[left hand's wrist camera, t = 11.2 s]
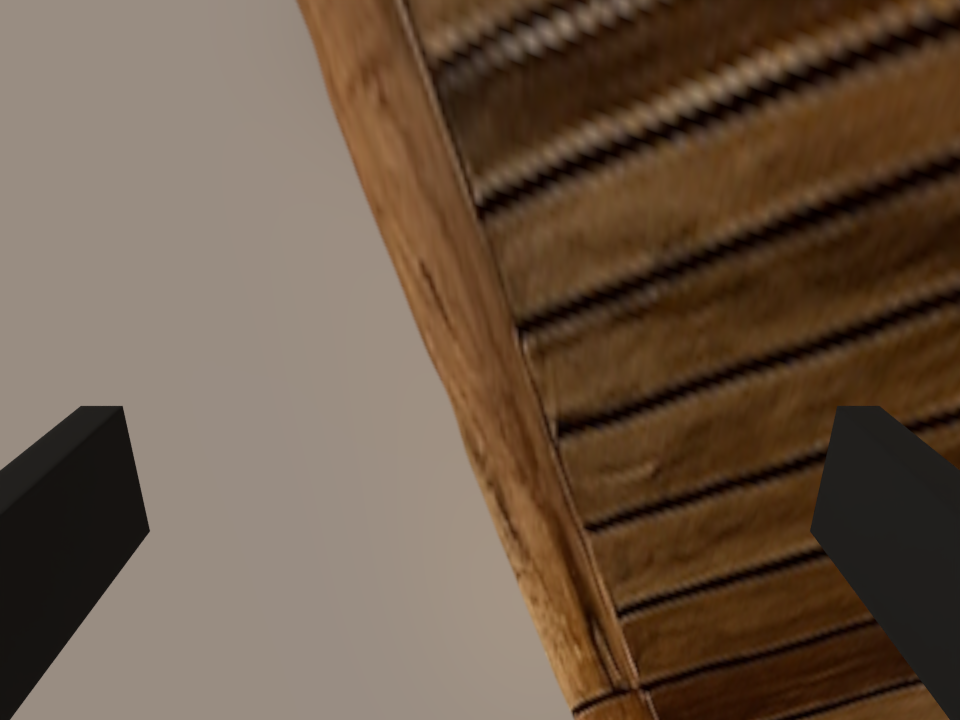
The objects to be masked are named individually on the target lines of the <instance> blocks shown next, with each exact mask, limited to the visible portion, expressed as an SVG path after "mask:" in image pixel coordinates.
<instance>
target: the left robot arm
mask: <svg viewBox="0 0 960 720" xmlns="http://www.w3.org/2000/svg"><path fill="white" fill-rule="evenodd" d="M149 532H150V529H149V525H148V521H147V516H146V511H145V507H144V502H143V497H142V493H141V488H140V484H139V479H138V475H137V470H136V465H135V461H134V456H133V452H132V447H131V442H130V438H129V433H128V429H127V424H126V420H125V415H124V410H123V406H80V407H79V408H78V409H77V410H75V411H74V412H73V413H72V414H70V415H69V416H68V417H67V418H65V419H64V420H63V421H62V422H60V423H59V424H58V425H57V426H55V427H54V428H53V429H52V430H50V431H49V432H48V433H47V434H45V435H44V436H43V437H42V438H40V439H39V440H38V441H37V442H35V443H34V444H33V445H32V446H30V447H29V448H28V449H27V450H25V451H24V452H23V453H22V454H20V455H19V456H18V457H17V458H15V459H14V460H13V461H12V462H10V463H9V464H8V465H7V466H5V467H4V468H3V469H2V470H0V720H10V719H11V718H12V716H13V715H14V713H15V712H16V711H17V709H18V708H19V707H20V705H21V704H22V703H23V701H24V700H25V699H26V697H27V696H28V695H29V693H30V692H31V691H32V689H33V688H34V687H35V685H36V684H37V683H38V681H39V680H40V679H41V677H42V676H43V674H44V673H45V672H46V670H47V669H48V668H49V666H50V665H51V664H52V662H53V661H54V660H55V658H56V657H57V656H58V654H59V653H60V652H61V650H62V649H63V648H64V646H65V645H66V644H67V642H68V641H69V639H70V638H71V637H72V635H73V634H74V633H75V631H76V630H77V629H78V627H79V626H80V625H81V623H82V622H83V621H84V619H85V618H86V617H87V615H88V614H89V612H90V611H91V610H92V608H93V607H94V606H95V604H96V603H97V602H98V600H99V599H100V598H101V596H102V595H103V594H104V592H105V591H106V590H107V588H108V587H109V586H110V584H111V583H112V581H113V580H114V579H115V577H116V576H117V575H118V573H119V572H120V571H121V569H122V568H123V567H124V565H125V564H126V563H127V561H128V560H129V559H130V557H131V556H132V554H133V553H134V552H135V550H136V549H137V548H138V547H139V545H140V544H141V542H142V541H143V540H144V538H145V537H146V536H147V534H148V533H149ZM810 532H811V533H812V534H813V536H814V537H815V538H816V540H817V541H818V542H819V544H820V545H821V547H822V548H823V549H824V551H825V552H826V553H827V555H828V556H829V557H830V559H831V560H832V561H833V563H834V564H835V565H836V567H837V568H838V569H839V571H840V572H841V573H842V575H843V576H844V577H845V579H846V580H847V582H848V583H849V584H850V586H851V587H852V588H853V590H854V591H855V592H856V594H857V595H858V596H859V598H860V599H861V600H862V602H863V603H864V604H865V606H866V607H867V608H868V610H869V611H870V613H871V614H872V615H873V617H874V618H875V619H876V621H877V622H878V623H879V625H880V626H881V627H882V629H883V630H884V631H885V633H886V634H887V635H888V637H889V638H890V639H891V641H892V642H893V644H894V645H895V646H896V648H897V649H898V650H899V652H900V653H901V654H902V656H903V657H904V658H905V660H906V661H907V662H908V664H909V665H910V666H911V668H912V669H913V670H914V672H915V673H916V674H917V676H918V677H919V679H920V680H921V681H922V683H923V684H924V685H925V687H926V688H927V689H928V691H929V692H930V693H931V695H932V696H933V697H934V699H935V700H936V701H937V703H938V704H939V705H940V707H941V708H942V710H943V711H944V712H945V714H946V715H947V716H948V718H949V719H950V720H960V470H958V469H957V468H956V467H955V466H953V465H952V464H951V463H950V462H948V461H947V460H946V459H945V458H943V457H942V456H941V455H940V454H938V453H937V452H936V451H935V450H933V449H932V448H931V447H930V446H928V445H927V444H926V443H925V442H923V441H922V440H921V439H920V438H918V437H917V436H916V435H915V434H913V433H912V432H911V431H910V430H908V429H907V428H906V427H905V426H903V425H902V424H901V423H900V422H898V421H897V420H896V419H895V418H893V417H892V416H891V415H890V414H888V413H887V412H886V411H885V410H883V409H882V408H881V407H880V406H837V410H836V415H835V419H834V424H833V429H832V433H831V438H830V442H829V447H828V452H827V456H826V461H825V465H824V470H823V474H822V479H821V484H820V488H819V493H818V497H817V502H816V506H815V511H814V516H813V520H812V525H811V529H810Z"/></svg>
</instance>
